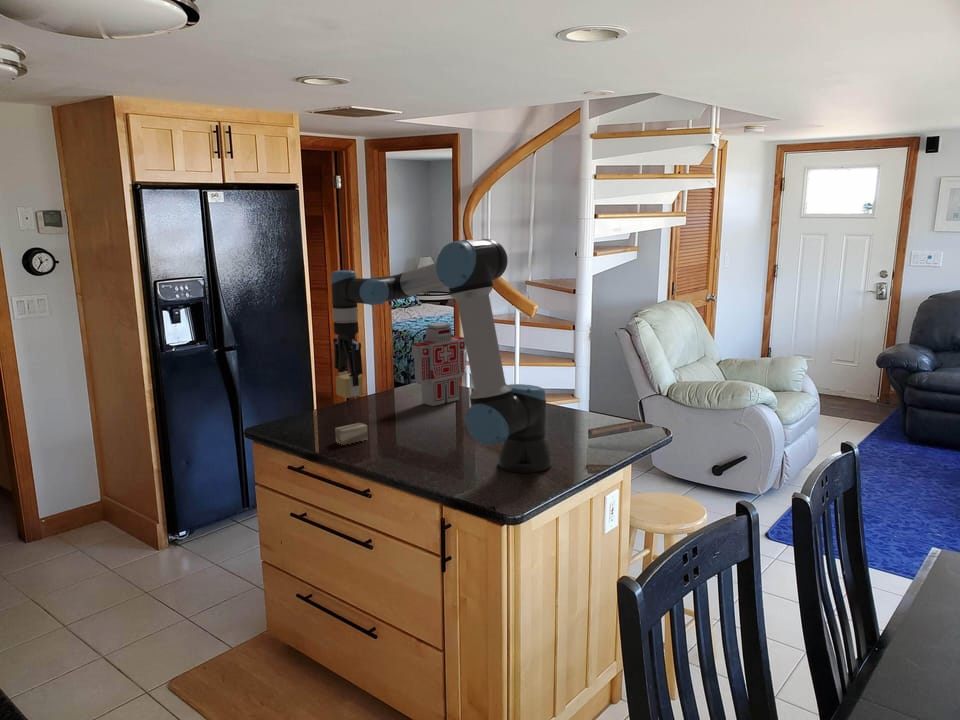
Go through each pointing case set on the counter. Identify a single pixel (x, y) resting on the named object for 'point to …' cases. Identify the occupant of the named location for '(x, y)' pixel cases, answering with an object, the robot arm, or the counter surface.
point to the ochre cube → (346, 385)
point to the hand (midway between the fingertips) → (349, 393)
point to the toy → (439, 364)
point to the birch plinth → (351, 433)
